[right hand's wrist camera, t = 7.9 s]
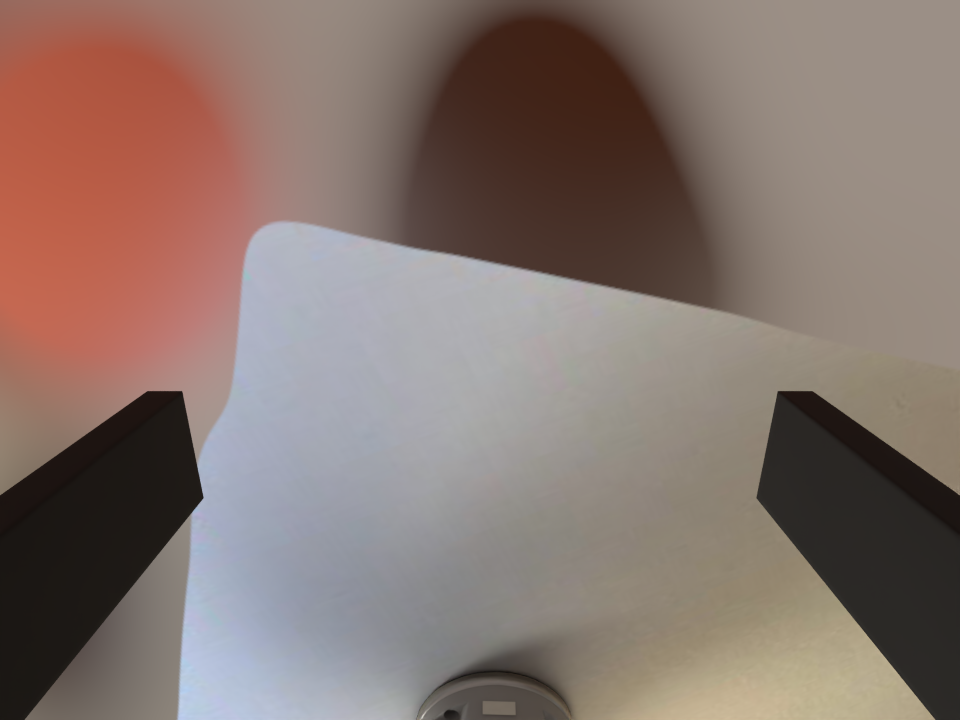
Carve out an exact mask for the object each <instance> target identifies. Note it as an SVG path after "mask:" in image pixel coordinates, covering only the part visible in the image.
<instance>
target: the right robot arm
mask: <svg viewBox="0 0 960 720" xmlns="http://www.w3.org/2000/svg"><path fill="white" fill-rule="evenodd" d="M202 499H203V493H202V488H201V483H200V478H199V473H198V468H197V463H196V458H195V453H194V448H193V443H192V438H191V433H190V428H189V423H188V418H187V413H186V408H185V403H184V398H183V393H182V391H147V392H146V393H144V394H143V395H141V396H140V397H139V398H137V399H136V400H134V401H133V402H132V403H130V404H129V405H127V406H126V407H124V408H123V409H122V410H120V411H119V412H118V413H116V414H115V415H113V416H112V417H110V418H109V419H108V420H106V421H105V422H103V423H102V424H100V425H99V426H98V427H96V428H95V429H93V430H92V431H91V432H89V433H88V434H86V435H85V436H84V437H82V438H81V439H79V440H78V441H77V442H75V443H74V444H72V445H71V446H69V447H68V448H67V449H65V450H64V451H62V452H61V453H59V454H58V455H57V456H55V457H54V458H52V459H51V460H50V461H48V462H47V463H45V464H44V465H43V466H41V467H40V468H38V469H37V470H35V471H34V472H33V473H31V474H30V475H28V476H27V477H26V478H24V479H23V480H21V481H20V482H19V483H17V484H16V485H14V486H13V487H11V488H10V489H9V490H7V491H6V492H4V493H3V494H2V495H0V720H25V718H26V717H27V716H28V715H29V713H30V712H31V711H32V710H33V708H34V707H35V706H36V705H37V704H38V702H39V701H40V700H41V699H42V697H43V696H44V695H45V694H46V692H47V691H48V690H49V689H50V687H51V686H52V685H53V684H54V683H55V681H56V680H57V679H58V678H59V676H60V675H61V674H62V673H63V671H64V670H65V669H66V668H67V666H68V665H69V664H70V663H71V661H72V660H73V659H74V658H75V657H76V655H77V654H78V653H79V652H80V650H81V649H82V648H83V647H84V645H85V644H86V643H87V642H88V640H89V639H90V638H91V637H92V636H93V634H94V633H95V632H96V631H97V629H98V628H99V627H100V626H101V624H102V623H103V622H104V621H105V619H106V618H107V617H108V616H109V614H110V613H111V612H112V611H113V610H114V608H115V607H116V606H117V605H118V603H119V602H120V601H121V600H122V598H123V597H124V596H125V595H126V593H127V592H128V591H129V590H130V588H131V587H132V586H133V585H134V583H135V582H136V581H137V580H138V579H139V577H140V576H141V575H142V574H143V572H144V571H145V570H146V569H147V567H148V566H149V565H150V564H151V562H152V561H153V560H154V559H155V558H156V556H157V555H158V554H159V553H160V551H161V550H162V549H163V548H164V546H165V545H166V544H167V543H168V541H169V540H170V539H171V538H172V536H173V535H174V534H175V533H176V532H177V530H178V529H179V528H180V527H181V525H182V524H183V523H184V522H185V520H186V519H187V518H188V517H189V515H190V514H191V513H192V512H193V510H194V509H195V508H196V507H197V506H198V504H199V503H200V502H201V501H202ZM757 499H758V501H759V502H760V503H761V504H762V506H763V507H764V508H765V509H766V510H767V512H768V513H769V514H770V515H771V517H772V518H773V519H774V520H775V522H776V523H777V524H778V525H779V527H780V528H781V529H782V530H783V532H784V533H785V534H786V535H787V536H788V538H789V539H790V540H791V541H792V543H793V544H794V545H795V546H796V548H797V549H798V550H799V551H800V553H801V554H802V555H803V556H804V558H805V559H806V560H807V561H808V562H809V564H810V565H811V566H812V567H813V569H814V570H815V571H816V572H817V574H818V575H819V576H820V577H821V579H822V580H823V581H824V582H825V584H826V585H827V586H828V587H829V588H830V590H831V591H832V592H833V593H834V595H835V596H836V597H837V598H838V600H839V601H840V602H841V603H842V605H843V606H844V607H845V608H846V610H847V611H848V612H849V613H850V614H851V616H852V617H853V618H854V619H855V621H856V622H857V623H858V624H859V626H860V627H861V628H862V629H863V631H864V632H865V633H866V634H867V636H868V637H869V638H870V639H871V640H872V642H873V643H874V644H875V645H876V647H877V648H878V649H879V650H880V652H881V653H882V654H883V655H884V657H885V658H886V659H887V660H888V662H889V663H890V664H891V665H892V666H893V668H894V669H895V670H896V671H897V673H898V674H899V675H900V676H901V678H902V679H903V680H904V681H905V683H906V684H907V685H908V686H909V688H910V689H911V690H912V691H913V692H914V694H915V695H916V696H917V697H918V699H919V700H920V701H921V702H922V704H923V705H924V706H925V707H926V709H927V710H928V711H929V712H930V714H931V715H932V716H933V717H934V718H935V720H960V495H958V494H957V493H956V492H954V491H953V490H951V489H950V488H949V487H947V486H946V485H944V484H943V483H941V482H940V481H939V480H937V479H936V478H934V477H933V476H932V475H930V474H929V473H927V472H926V471H925V470H923V469H922V468H920V467H919V466H917V465H916V464H915V463H913V462H912V461H910V460H909V459H908V458H906V457H905V456H903V455H902V454H901V453H899V452H898V451H896V450H895V449H893V448H892V447H891V446H889V445H888V444H886V443H885V442H884V441H882V440H881V439H879V438H878V437H877V436H875V435H874V434H872V433H871V432H869V431H868V430H867V429H865V428H864V427H862V426H861V425H860V424H858V423H857V422H855V421H854V420H852V419H851V418H850V417H848V416H847V415H845V414H844V413H843V412H841V411H840V410H838V409H837V408H836V407H834V406H833V405H831V404H830V403H828V402H827V401H826V400H824V399H823V398H821V397H820V396H819V395H817V394H816V393H814V392H813V391H778V393H777V398H776V403H775V408H774V413H773V418H772V423H771V428H770V433H769V438H768V443H767V448H766V453H765V458H764V463H763V468H762V473H761V478H760V483H759V488H758V493H757ZM417 720H572V719H571V715H570V712H569V710H568V708H567V706H566V704H565V703H564V701H563V700H562V699H561V698H560V697H559V696H558V695H557V694H556V693H555V692H554V691H553V690H552V689H550V688H549V687H547V686H546V685H544V684H542V683H540V682H538V681H536V680H534V679H531V678H529V677H525V676H522V675H518V674H512V673H504V672H485V673H477V674H472V675H467V676H464V677H461V678H458V679H455V680H453V681H451V682H449V683H447V684H445V685H443V686H442V687H440V688H439V689H437V690H436V691H435V692H434V693H432V694H431V695H430V696H429V697H428V699H427V700H426V701H425V702H424V704H423V705H422V707H421V709H420V711H419V713H418V716H417Z"/></svg>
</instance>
